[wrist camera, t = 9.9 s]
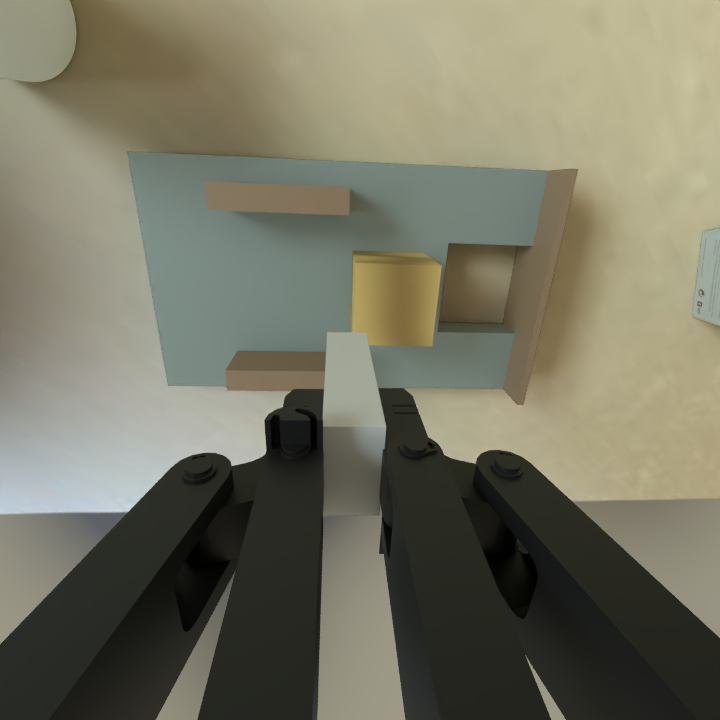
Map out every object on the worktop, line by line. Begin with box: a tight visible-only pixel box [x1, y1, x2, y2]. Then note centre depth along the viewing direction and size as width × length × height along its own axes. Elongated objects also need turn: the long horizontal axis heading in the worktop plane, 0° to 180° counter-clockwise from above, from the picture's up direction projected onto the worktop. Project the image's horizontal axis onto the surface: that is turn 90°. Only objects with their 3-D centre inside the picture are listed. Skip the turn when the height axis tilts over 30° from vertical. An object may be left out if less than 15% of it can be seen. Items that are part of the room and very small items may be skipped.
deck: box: [127, 151, 578, 405], centre depth 27 cm, size 27×16×6 cm, turn 88°
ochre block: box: [350, 251, 442, 346], centre depth 26 cm, size 5×5×5 cm
